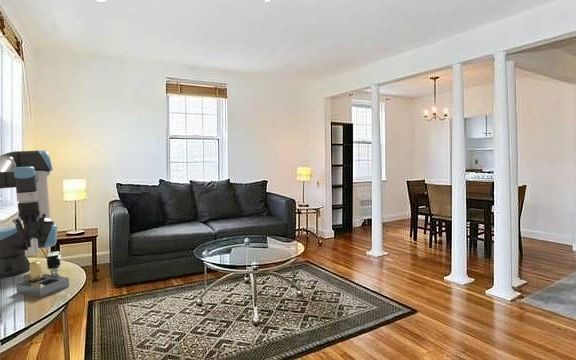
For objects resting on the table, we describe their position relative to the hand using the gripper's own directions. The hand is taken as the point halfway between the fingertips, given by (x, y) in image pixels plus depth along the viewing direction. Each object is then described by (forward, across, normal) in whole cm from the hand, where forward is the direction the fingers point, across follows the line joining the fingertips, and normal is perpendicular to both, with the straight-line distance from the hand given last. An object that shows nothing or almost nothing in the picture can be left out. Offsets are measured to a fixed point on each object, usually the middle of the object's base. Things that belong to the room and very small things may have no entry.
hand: (33, 253), depth 162 cm
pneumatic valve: (+17, +15, +9) cm, 24 cm away
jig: (+16, 0, -4) cm, 17 cm away
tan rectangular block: (+16, 0, 0) cm, 16 cm away
